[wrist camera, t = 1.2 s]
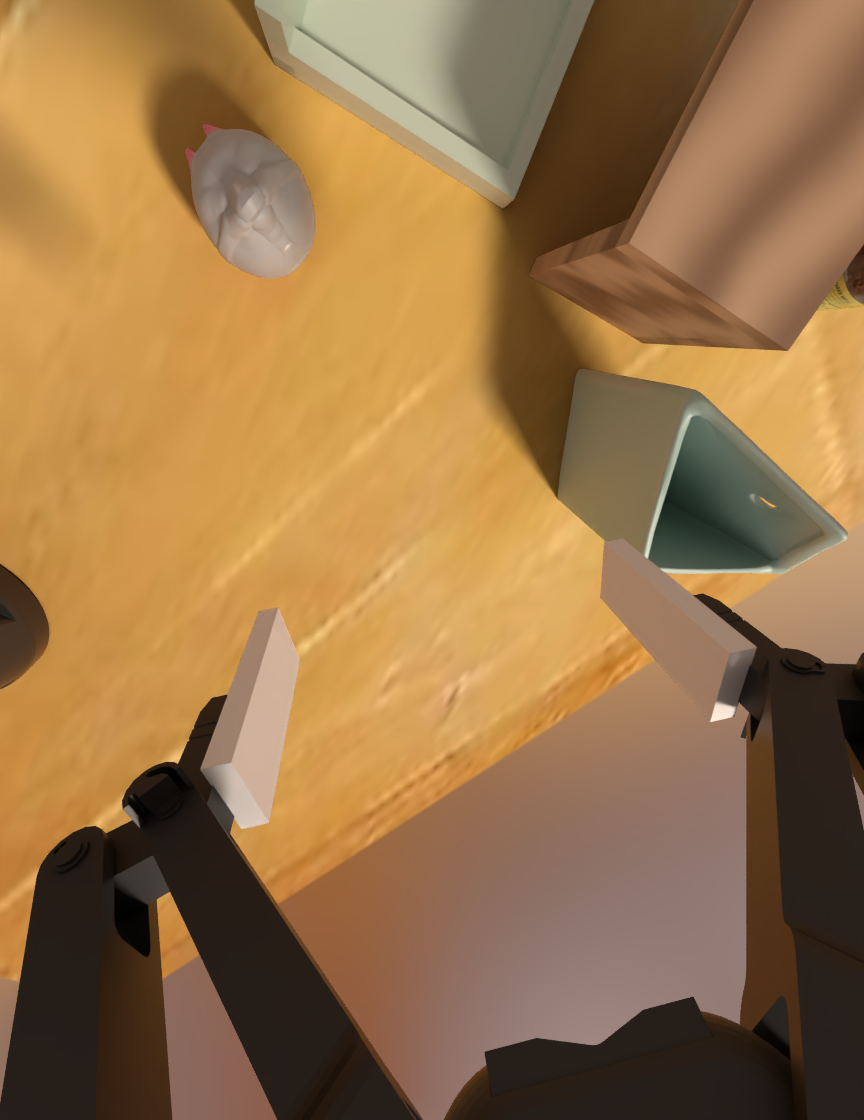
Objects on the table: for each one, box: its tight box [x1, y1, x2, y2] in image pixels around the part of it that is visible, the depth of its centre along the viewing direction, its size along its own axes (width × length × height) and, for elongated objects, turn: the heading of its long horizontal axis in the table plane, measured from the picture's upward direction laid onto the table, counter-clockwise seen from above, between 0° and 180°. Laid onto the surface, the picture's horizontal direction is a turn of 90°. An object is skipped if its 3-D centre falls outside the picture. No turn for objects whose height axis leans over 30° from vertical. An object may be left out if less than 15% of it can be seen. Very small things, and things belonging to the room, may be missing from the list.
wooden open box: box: [528, 0, 864, 351], centre depth 23 cm, size 11×17×13 cm, turn 157°
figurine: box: [185, 124, 315, 278], centre depth 23 cm, size 6×7×8 cm
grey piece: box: [557, 368, 848, 574], centre depth 30 cm, size 16×8×20 cm, turn 42°
